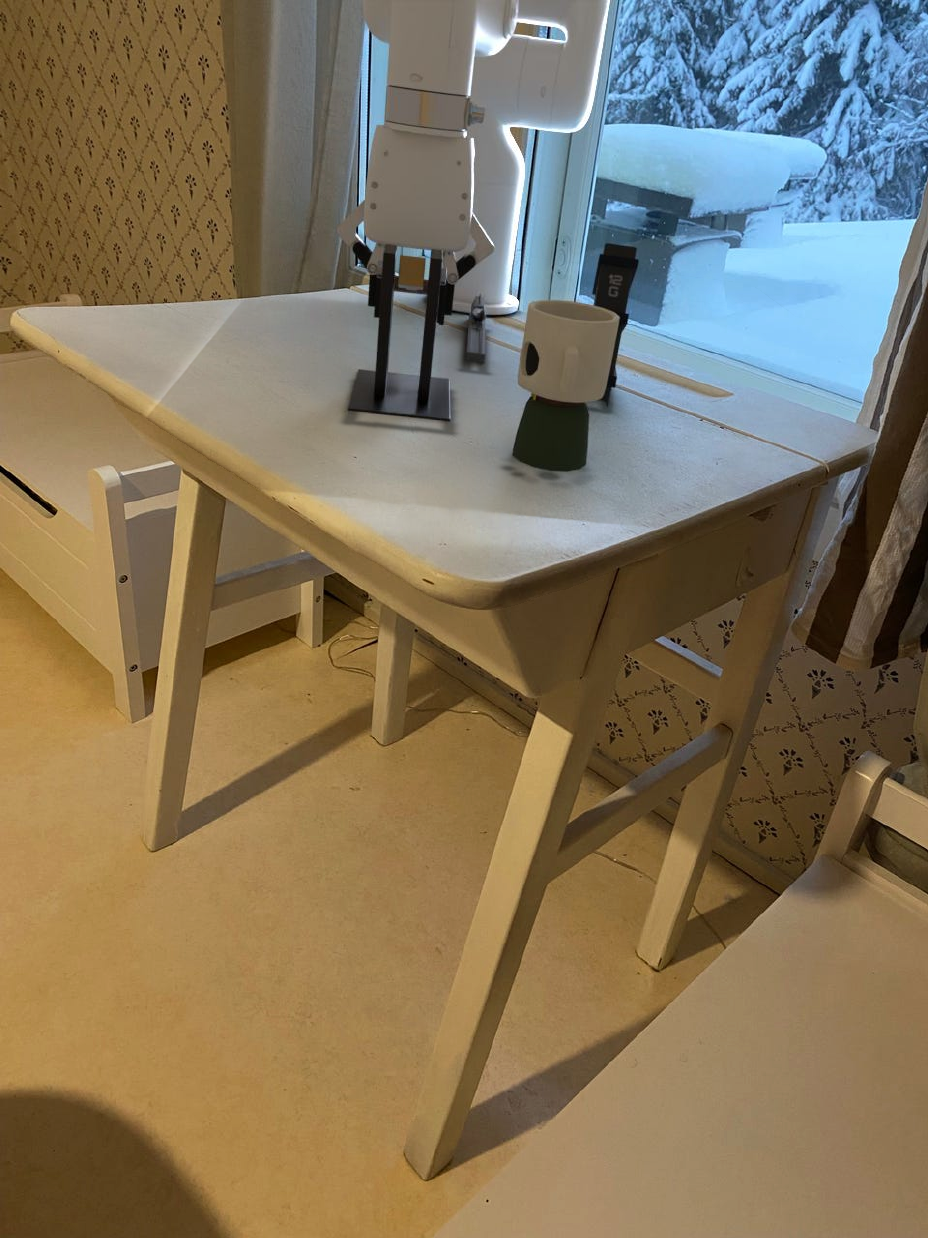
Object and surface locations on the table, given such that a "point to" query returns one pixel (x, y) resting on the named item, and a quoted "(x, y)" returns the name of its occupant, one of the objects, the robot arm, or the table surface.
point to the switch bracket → (381, 386)
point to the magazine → (615, 293)
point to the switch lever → (411, 276)
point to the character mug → (562, 380)
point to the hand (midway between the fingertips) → (409, 316)
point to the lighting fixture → (476, 332)
